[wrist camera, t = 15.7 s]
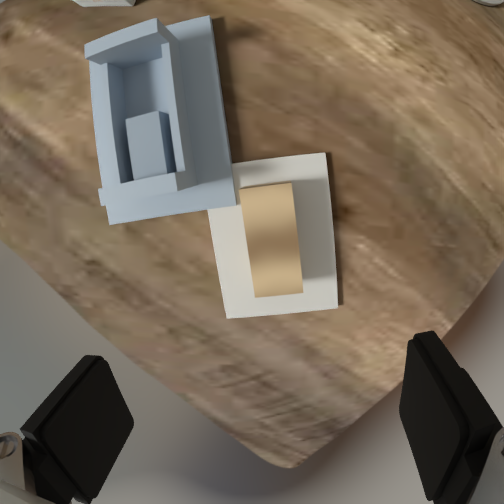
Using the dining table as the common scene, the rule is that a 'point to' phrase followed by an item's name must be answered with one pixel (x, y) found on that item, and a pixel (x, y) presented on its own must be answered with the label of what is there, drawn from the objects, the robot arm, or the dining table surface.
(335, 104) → the dining table surface
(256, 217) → the oak block
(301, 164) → the mat
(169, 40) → the jig
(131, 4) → the small box
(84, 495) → the robot arm
